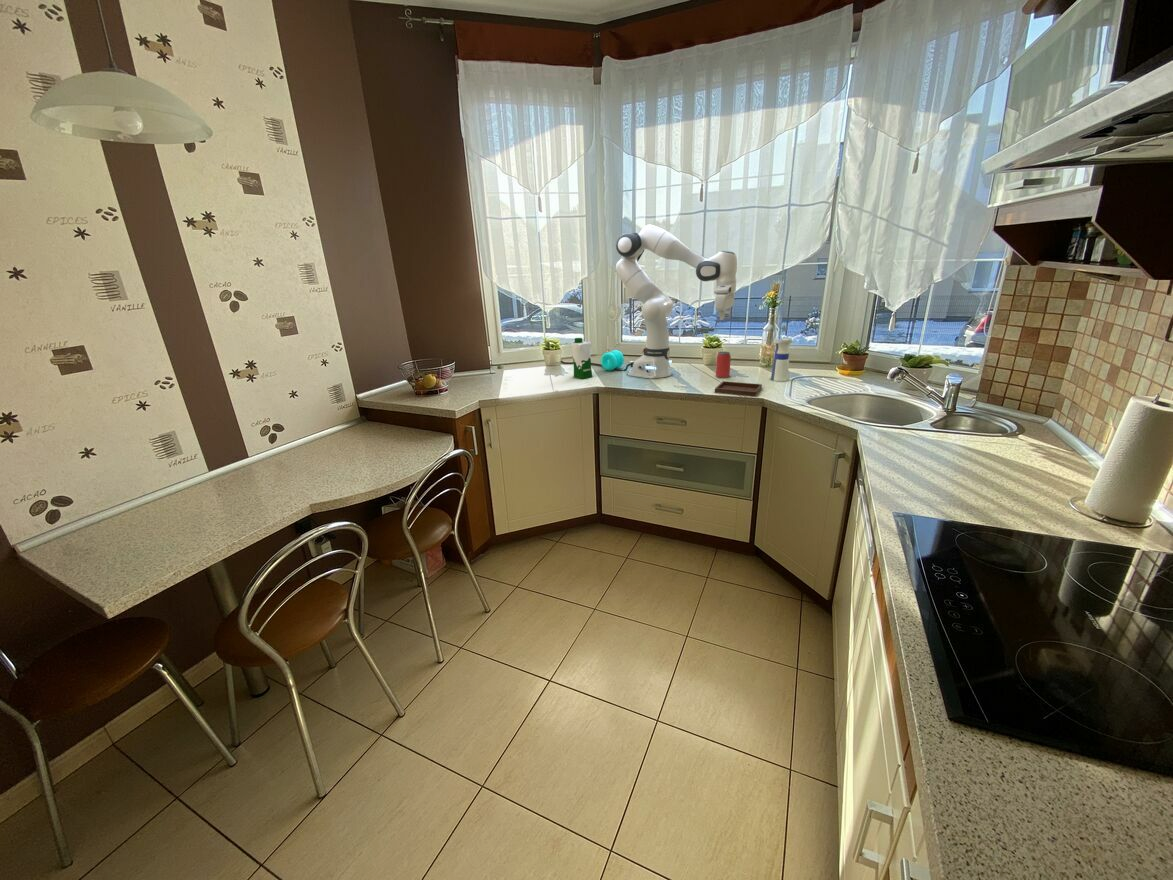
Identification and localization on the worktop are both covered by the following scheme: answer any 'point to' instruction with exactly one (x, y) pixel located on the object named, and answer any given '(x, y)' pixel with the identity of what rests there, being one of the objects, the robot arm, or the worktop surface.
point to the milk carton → (581, 358)
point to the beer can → (723, 364)
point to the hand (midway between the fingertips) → (724, 318)
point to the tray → (738, 388)
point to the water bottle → (781, 359)
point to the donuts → (612, 360)
